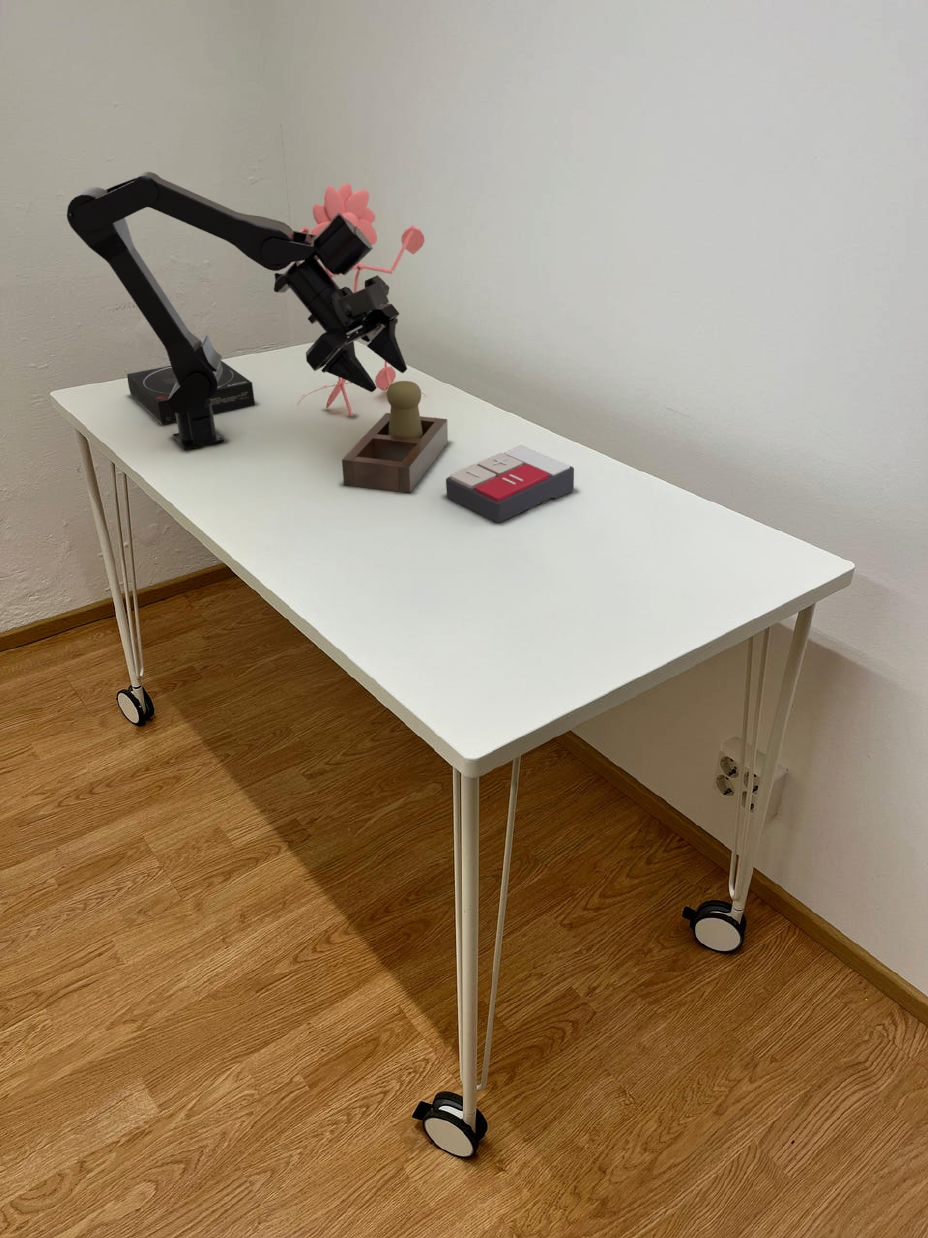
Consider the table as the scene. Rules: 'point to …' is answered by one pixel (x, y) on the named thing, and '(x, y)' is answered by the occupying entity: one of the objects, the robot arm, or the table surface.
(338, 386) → the figurine
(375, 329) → the robot arm
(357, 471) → the hole block
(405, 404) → the olive game pawn
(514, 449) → the calculator
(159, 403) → the portable cd player
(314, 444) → the table surface
